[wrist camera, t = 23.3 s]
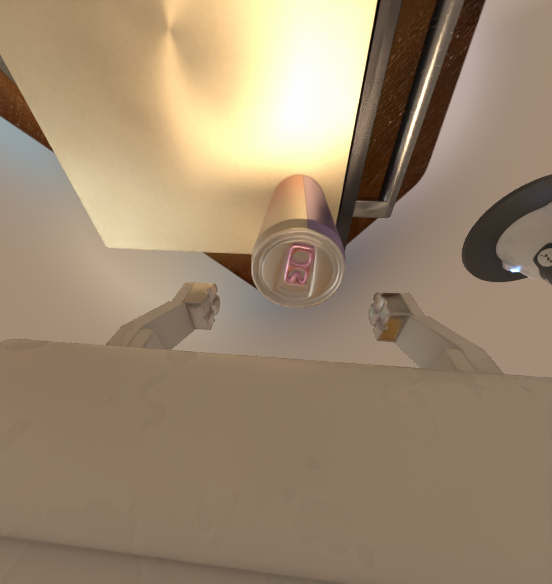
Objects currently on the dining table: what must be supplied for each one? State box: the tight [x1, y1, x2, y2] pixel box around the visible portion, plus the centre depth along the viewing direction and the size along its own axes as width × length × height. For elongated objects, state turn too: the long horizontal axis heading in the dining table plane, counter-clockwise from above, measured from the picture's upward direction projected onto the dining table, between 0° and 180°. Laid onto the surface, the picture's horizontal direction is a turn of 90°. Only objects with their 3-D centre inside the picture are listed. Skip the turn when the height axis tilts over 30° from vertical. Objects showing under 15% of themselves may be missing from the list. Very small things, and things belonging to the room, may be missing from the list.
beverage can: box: [251, 175, 345, 308], centre depth 18 cm, size 6×6×15 cm
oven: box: [0, 0, 378, 254], centre depth 27 cm, size 32×40×26 cm
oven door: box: [336, 0, 464, 251], centre depth 26 cm, size 7×40×26 cm, turn 0°
